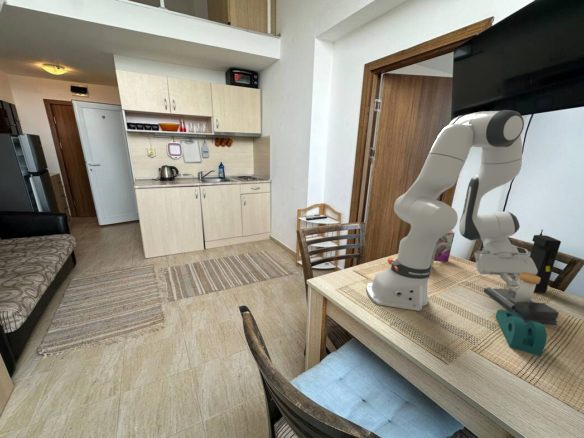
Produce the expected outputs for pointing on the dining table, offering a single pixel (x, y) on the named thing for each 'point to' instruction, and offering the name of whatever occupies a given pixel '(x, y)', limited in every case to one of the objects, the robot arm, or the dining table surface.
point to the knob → (525, 288)
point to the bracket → (522, 332)
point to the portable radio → (544, 258)
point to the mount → (524, 307)
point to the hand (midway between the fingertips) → (513, 286)
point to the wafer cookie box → (444, 247)
